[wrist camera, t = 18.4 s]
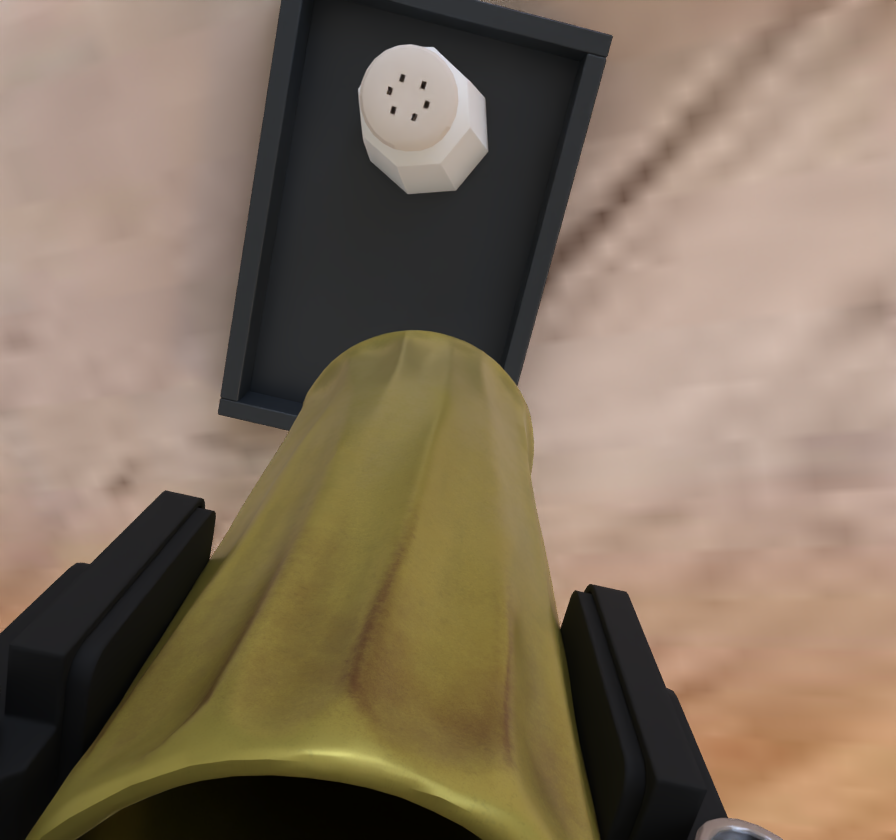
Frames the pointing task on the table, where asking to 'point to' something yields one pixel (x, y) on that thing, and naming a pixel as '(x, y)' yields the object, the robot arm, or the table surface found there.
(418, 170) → the salt shaker
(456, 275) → the tray
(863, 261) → the table surface
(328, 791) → the vase
